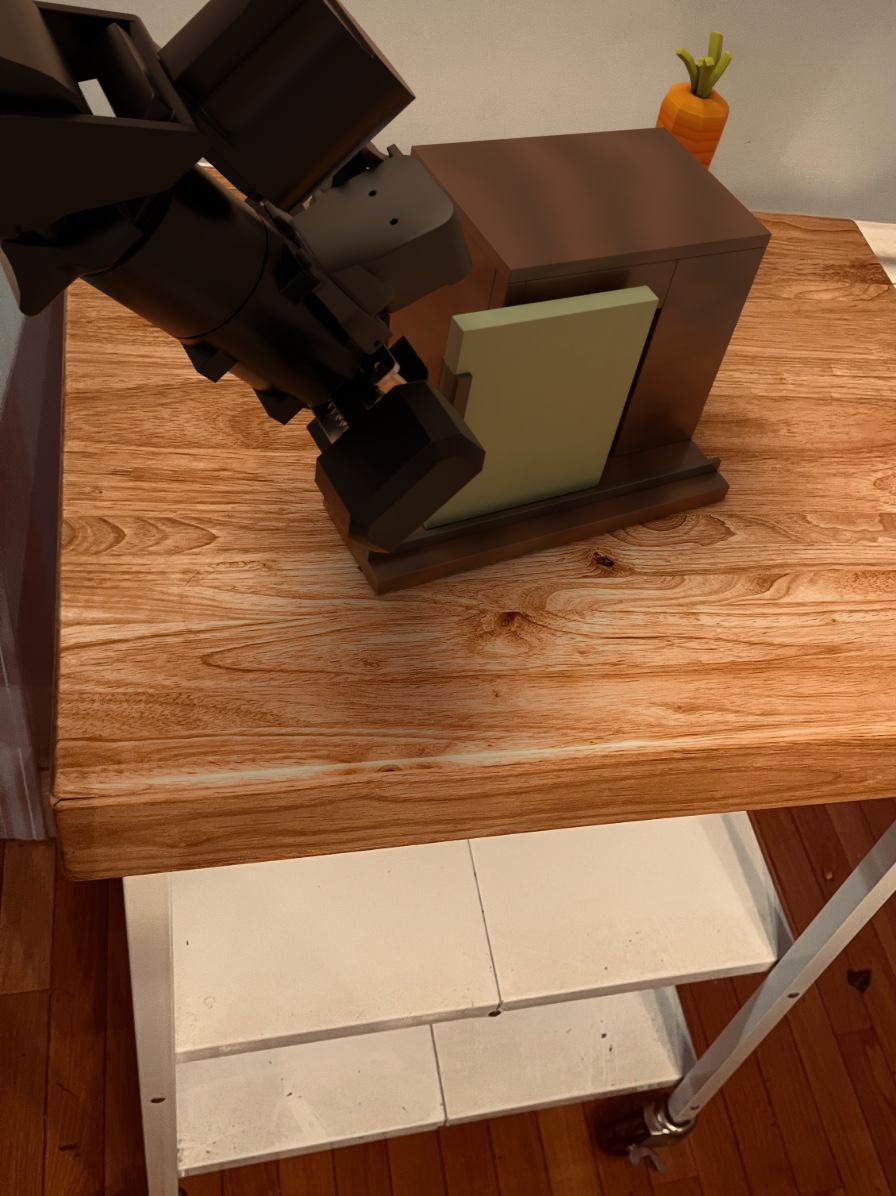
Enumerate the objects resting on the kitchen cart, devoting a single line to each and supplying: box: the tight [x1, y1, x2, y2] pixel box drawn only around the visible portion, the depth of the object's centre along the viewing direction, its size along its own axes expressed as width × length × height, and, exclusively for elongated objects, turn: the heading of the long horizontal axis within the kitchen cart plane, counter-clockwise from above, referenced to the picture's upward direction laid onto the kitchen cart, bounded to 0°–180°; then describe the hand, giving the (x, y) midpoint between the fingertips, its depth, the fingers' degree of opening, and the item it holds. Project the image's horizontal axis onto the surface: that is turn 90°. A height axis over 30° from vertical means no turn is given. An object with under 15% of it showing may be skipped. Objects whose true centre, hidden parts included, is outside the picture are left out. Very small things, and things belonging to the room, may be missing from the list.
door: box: [423, 286, 659, 529], centre depth 61 cm, size 11×2×13 cm, turn 123°
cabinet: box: [322, 127, 773, 597], centre depth 64 cm, size 23×15×16 cm, turn 123°
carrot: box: [654, 30, 733, 171], centre depth 85 cm, size 5×5×15 cm
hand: (432, 432), depth 58 cm, fingers closed, pressing on door
